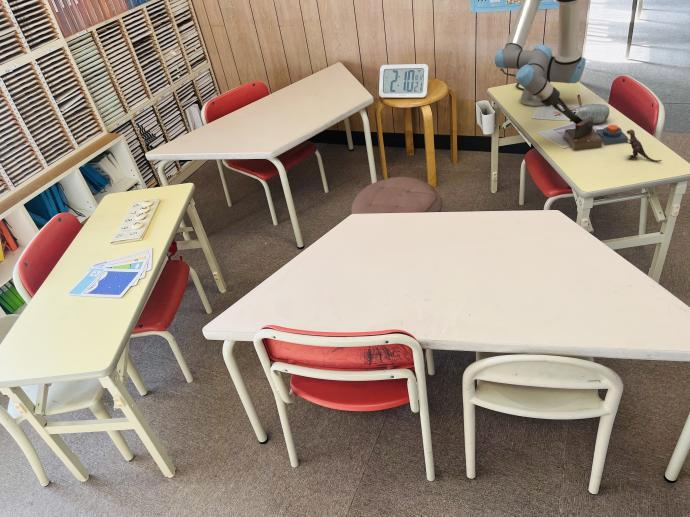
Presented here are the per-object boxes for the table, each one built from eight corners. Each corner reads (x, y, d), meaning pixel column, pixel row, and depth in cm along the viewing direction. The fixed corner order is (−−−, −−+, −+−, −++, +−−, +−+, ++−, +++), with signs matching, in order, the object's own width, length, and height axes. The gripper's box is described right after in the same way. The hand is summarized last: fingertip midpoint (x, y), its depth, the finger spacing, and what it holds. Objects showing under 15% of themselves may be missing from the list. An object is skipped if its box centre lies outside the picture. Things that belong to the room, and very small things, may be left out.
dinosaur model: (628, 127, 209) (670, 134, 201) (622, 153, 216) (662, 161, 209) (625, 132, 206) (667, 139, 199) (619, 158, 214) (659, 166, 206)
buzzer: (595, 134, 233) (596, 125, 230) (617, 131, 232) (618, 123, 229) (605, 145, 224) (606, 136, 222) (627, 142, 223) (628, 133, 221)
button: (605, 129, 228) (606, 125, 227) (615, 128, 227) (616, 124, 226) (609, 133, 224) (609, 129, 223) (619, 131, 224) (619, 128, 223)
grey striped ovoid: (610, 109, 243) (607, 95, 235) (611, 126, 239) (608, 112, 231) (577, 115, 250) (574, 102, 242) (578, 132, 246) (575, 119, 238)
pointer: (587, 129, 230) (589, 116, 226) (592, 130, 229) (594, 117, 225) (574, 138, 226) (575, 124, 222) (578, 139, 224) (580, 125, 221)
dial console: (560, 137, 236) (561, 129, 234) (593, 133, 234) (594, 125, 232) (570, 151, 224) (571, 143, 222) (605, 147, 223) (606, 139, 221)
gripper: (535, 95, 228) (571, 126, 236) (544, 106, 218) (581, 138, 226) (549, 81, 224) (585, 113, 232) (558, 92, 214) (596, 125, 222)
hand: (583, 125), depth 229 cm, fingers closed
